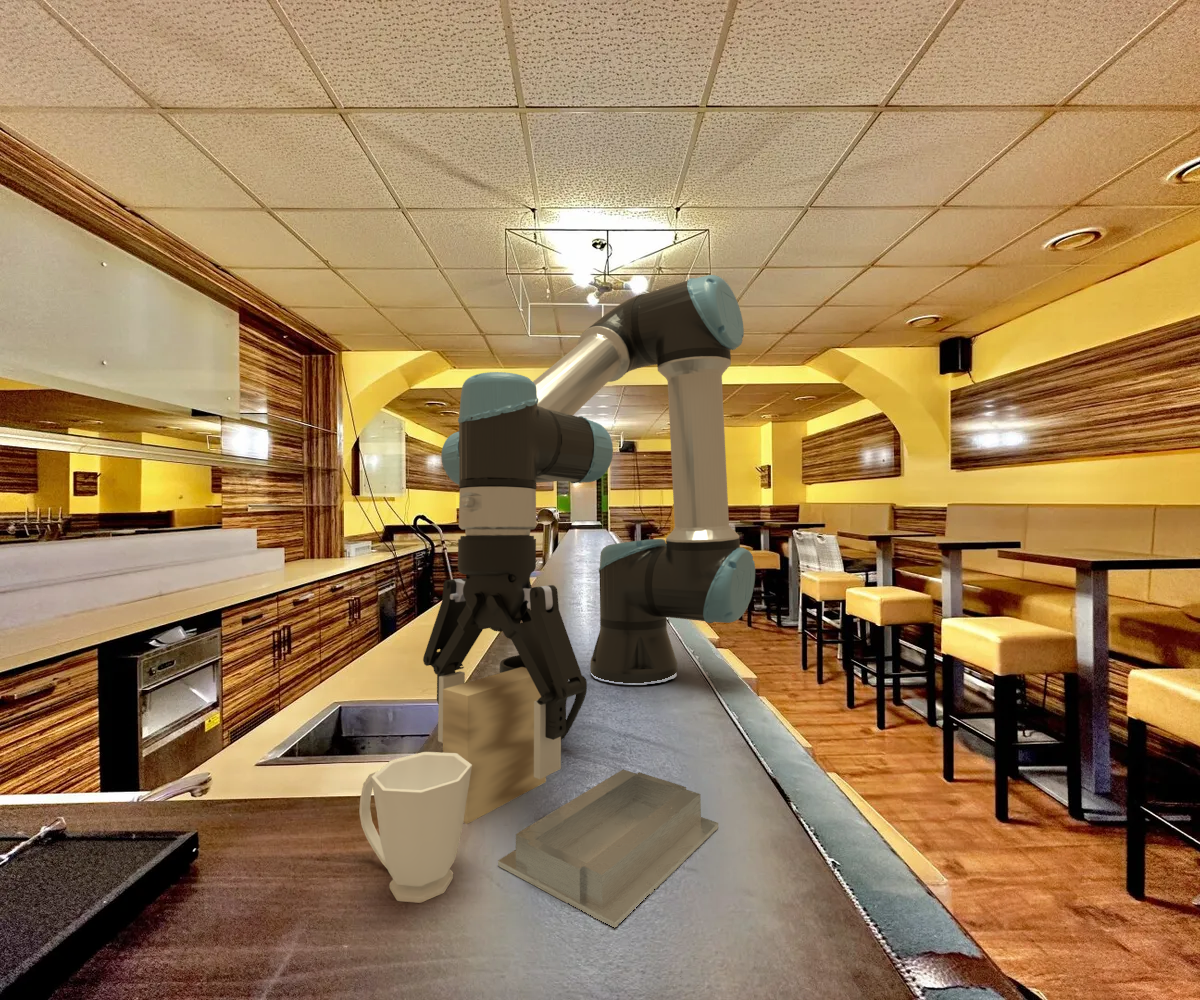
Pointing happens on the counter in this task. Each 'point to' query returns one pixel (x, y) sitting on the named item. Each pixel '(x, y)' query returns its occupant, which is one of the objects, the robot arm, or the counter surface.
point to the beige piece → (611, 844)
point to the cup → (417, 820)
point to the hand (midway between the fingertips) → (495, 754)
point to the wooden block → (493, 737)
